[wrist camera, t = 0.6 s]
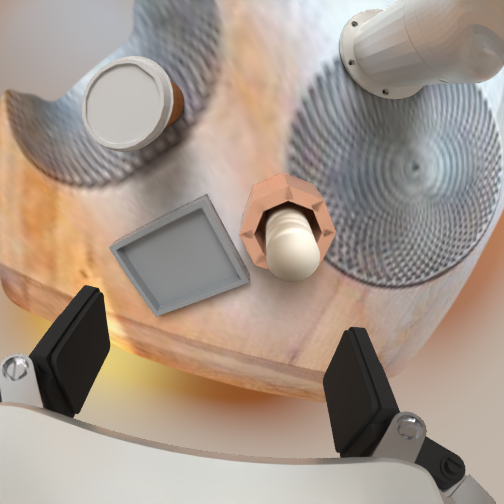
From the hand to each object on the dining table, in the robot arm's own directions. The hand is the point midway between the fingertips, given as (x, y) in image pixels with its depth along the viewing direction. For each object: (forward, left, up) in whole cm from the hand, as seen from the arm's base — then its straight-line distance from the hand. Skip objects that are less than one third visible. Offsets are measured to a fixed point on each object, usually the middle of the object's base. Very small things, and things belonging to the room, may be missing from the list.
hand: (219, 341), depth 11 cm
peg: (-2, +7, -29) cm, 30 cm away
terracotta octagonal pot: (-2, +7, -30) cm, 31 cm away
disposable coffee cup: (+6, -13, -30) cm, 34 cm away
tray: (+14, +7, -30) cm, 34 cm away
